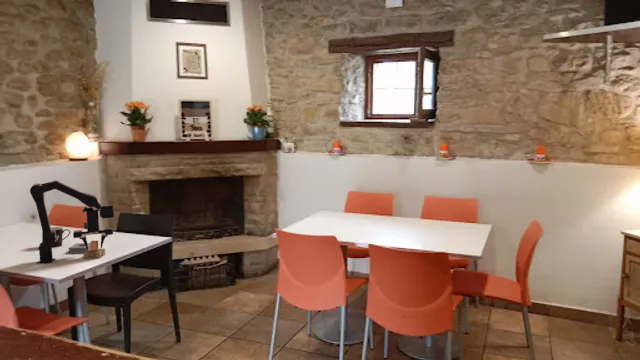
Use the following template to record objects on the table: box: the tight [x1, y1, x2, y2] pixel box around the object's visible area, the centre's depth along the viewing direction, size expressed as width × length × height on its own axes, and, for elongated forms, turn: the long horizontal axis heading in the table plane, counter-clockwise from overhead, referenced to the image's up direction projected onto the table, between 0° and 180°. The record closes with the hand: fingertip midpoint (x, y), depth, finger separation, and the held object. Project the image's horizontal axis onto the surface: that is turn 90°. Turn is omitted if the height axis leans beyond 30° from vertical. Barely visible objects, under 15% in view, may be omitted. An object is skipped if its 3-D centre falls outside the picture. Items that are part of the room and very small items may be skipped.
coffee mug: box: [51, 226, 71, 248], centre depth 288 cm, size 12×9×10 cm
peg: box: [89, 240, 100, 252], centre depth 266 cm, size 3×3×8 cm
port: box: [68, 242, 90, 254], centre depth 278 cm, size 10×10×3 cm
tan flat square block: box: [83, 248, 106, 260], centre depth 267 cm, size 8×8×3 cm
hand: (94, 248), depth 266 cm, fingers open, 6 cm apart
